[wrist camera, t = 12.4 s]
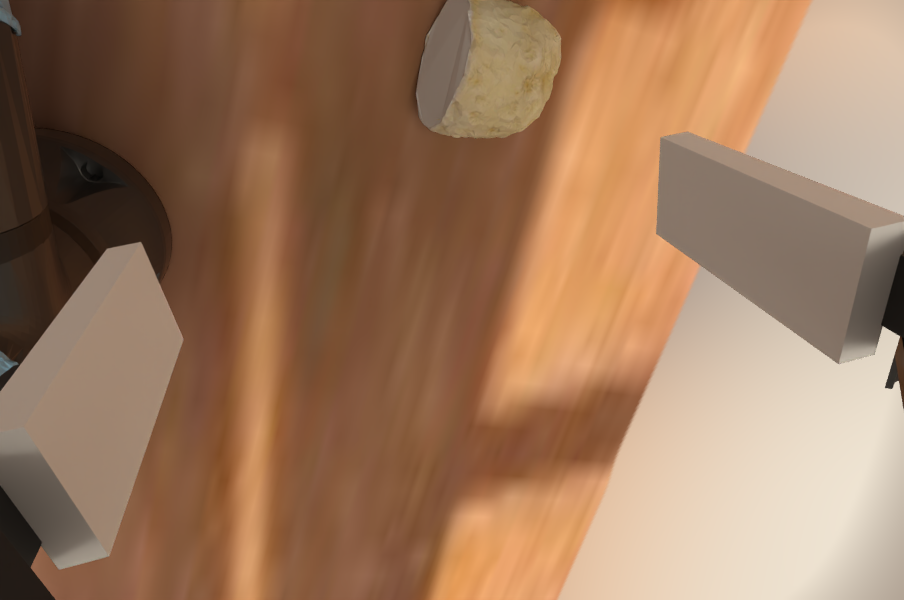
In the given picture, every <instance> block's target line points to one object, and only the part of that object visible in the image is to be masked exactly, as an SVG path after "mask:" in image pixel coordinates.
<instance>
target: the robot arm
mask: <svg viewBox="0 0 904 600" xmlns="http://www.w3.org/2000/svg"><path fill="white" fill-rule="evenodd" d="M17 36H21V27H20V24H19V22H18V20H17V19H16V18H15V17H14V16H13V15H12V12H11V8H10V4H9V0H0V600H55V598H54V597H53V596H52V595H51V593H50V592H49V591H48V590H47V588H46V587H45V586H44V585H43V583H42V582H41V581H40V579H39V578H38V577H37V576H36V574H35V573H34V572H33V571H32V569H31V568H30V567H31V565H32V563H33V561H34V559H35V557H36V555H37V552H38V550H39V548H40V546H42V548H43V549H44V550H45V552H46V553H47V554H48V556H49V557H50V558H51V560H52V561H53V562H54V564H55V565H56V566H57V568H58V569H63V568H67V567H71V566H75V565H78V564H82V563H86V562H90V561H94V560H97V559H101V558H105V557H109V556H110V553H111V550H112V547H113V544H114V541H115V538H116V535H117V532H118V529H119V526H120V524H121V521H122V518H123V515H124V512H125V509H126V506H127V503H128V500H129V497H130V494H131V491H132V488H133V486H134V483H135V480H136V477H137V474H138V471H139V468H140V465H141V462H142V459H143V456H144V453H145V451H146V448H147V445H148V442H149V439H150V436H151V433H152V430H153V427H154V424H155V421H156V418H157V415H158V413H159V410H160V407H161V404H162V401H163V398H164V395H165V392H166V389H167V386H168V383H169V380H170V378H171V375H172V372H173V369H174V366H175V363H176V360H177V357H178V354H179V351H180V348H181V345H182V343H183V340H184V339H183V337H182V334H181V332H180V330H179V327H178V325H177V323H176V321H175V318H174V316H173V314H172V311H171V309H170V307H169V305H168V302H167V300H166V298H165V295H164V293H163V291H162V289H161V286H160V282H161V281H162V279H163V277H164V275H165V273H166V271H167V268H168V265H169V261H170V257H171V248H172V240H171V230H170V226H169V222H168V218H167V215H166V213H165V210H164V208H163V206H162V204H161V202H160V200H159V198H158V197H157V195H156V193H155V192H154V190H153V189H152V188H151V186H150V185H149V184H148V182H147V181H146V180H145V179H144V178H143V177H142V176H141V175H140V174H139V173H138V172H137V171H136V170H135V169H134V168H133V167H132V166H131V165H130V164H128V163H127V162H126V161H125V160H123V159H122V158H121V157H119V156H118V155H116V154H115V153H113V152H112V151H110V150H108V149H107V148H105V147H103V146H101V145H99V144H97V143H95V142H93V141H90V140H88V139H85V138H83V137H80V136H77V135H74V134H70V133H66V132H62V131H57V130H50V129H40V128H34V124H33V118H32V113H31V108H30V103H29V98H28V92H27V87H26V82H25V77H24V72H23V67H22V61H21V56H20V51H19V46H18V41H17ZM656 234H657V235H659V236H660V237H662V238H663V239H664V240H666V241H667V242H669V243H670V244H671V245H673V246H674V247H676V248H677V249H678V250H680V251H681V252H683V253H684V254H685V255H687V256H688V257H690V258H691V259H692V260H694V261H695V262H697V263H698V264H699V265H701V266H702V267H704V268H705V269H706V270H708V271H709V272H711V273H712V274H713V275H715V276H716V277H717V278H719V279H720V280H722V281H723V282H725V283H726V284H727V285H729V286H730V287H731V288H733V289H734V290H736V291H737V292H739V293H740V294H741V295H743V296H744V297H746V298H747V299H748V300H750V301H751V302H753V303H754V304H755V305H757V306H758V307H759V308H761V309H762V310H764V311H765V312H766V313H768V314H769V315H771V316H772V317H774V318H775V319H776V320H778V321H779V322H781V323H782V324H783V325H785V326H786V327H787V328H789V329H790V330H792V331H793V332H794V333H796V334H797V335H799V336H800V337H801V338H803V339H804V340H806V341H807V342H808V343H810V344H811V345H813V346H814V347H815V348H817V349H818V350H820V351H821V352H823V353H824V354H825V355H827V356H828V357H830V358H831V359H832V360H834V361H835V362H836V363H838V364H841V363H845V362H849V361H852V360H856V359H860V358H864V357H867V356H871V355H875V352H876V348H877V344H878V341H879V337H880V334H881V330H882V326H884V327H886V328H887V329H889V330H891V331H892V332H894V333H896V334H897V335H899V336H900V339H899V342H898V346H897V349H896V352H895V356H894V359H893V363H892V366H891V369H890V372H889V376H888V379H887V382H886V386H885V388H889V389H892V388H893V385H894V383H895V382H896V381H899V383H900V390H901V396H902V402H903V408H904V216H902V215H900V214H897V213H895V212H892V211H890V210H887V209H885V208H882V207H879V206H877V205H874V204H872V203H869V202H867V201H864V200H862V199H859V198H856V197H854V196H851V195H848V194H846V193H844V192H841V191H838V190H836V189H833V188H831V187H828V186H825V185H823V184H820V183H818V182H815V181H813V180H810V179H808V178H805V177H803V176H800V175H797V174H795V173H792V172H790V171H787V170H784V169H782V168H779V167H777V166H774V165H772V164H769V163H766V162H764V161H761V160H759V159H756V158H754V157H751V156H749V155H746V154H743V153H741V152H738V151H736V150H733V149H731V148H728V147H726V146H723V145H720V144H718V143H715V142H713V141H710V140H708V139H705V138H702V137H700V136H697V135H695V134H692V133H690V132H684V133H679V134H674V135H669V136H664V137H661V139H660V161H659V183H658V206H657V228H656Z"/></svg>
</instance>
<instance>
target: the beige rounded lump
mask: <svg viewBox="0 0 904 600" xmlns="http://www.w3.org/2000/svg"><path fill="white" fill-rule="evenodd" d="M560 61H561V37H560V35H559V33H558V32H557V30H556V29H555V28H554V27H553V26H552V25H551V24H550V23H549V22H548V21H547V19H544V18H543V17H542V16H541V15H540V14H539V13H538V12H537V11H536V10H534V9H533V8H531V7H529V6H521V5H519V4H516V3H513V2H511V1H506V0H447V2H446V3H445V5H444V7H443V9H442V10H441V12H440V14H439V15H438V17H437V19H436V20H435V22H434V24H433V25H432V27H431V30H430V31H429V33H428V34H427V35H426V40H425V50H424V52H423V56H422V61H421V66H420V71H419V76H418V83H417V90H416V98H417V105H418V115H419V118H420V120H421V122H422V123H423V124H424V125H425V126H426V127H427V128H428V129H429V130H431V131H433V132H437V133H439V134H444V135H448V136H450V135H452V137H455V138H460V137H462V136H463V137H465V138H467V137H474V138H475V139H476V138H495V137H500V138H505V137H507V136H508V135H511V134H514V133H517V132H521V131H523V130H524V129H526V128H527V127H528V126H529V125H530V124H531V123H532V122H533V121H534V120H536V119H537V118H538V117H539V116H540V113H541V112H542V110H543V108H544V105H545V103H546V101H547V100H548V99H549V97H550V94H551V91H552V87H553V79H554V76H555V75H556V74H557V72H558V68H559V66H560Z"/></svg>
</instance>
